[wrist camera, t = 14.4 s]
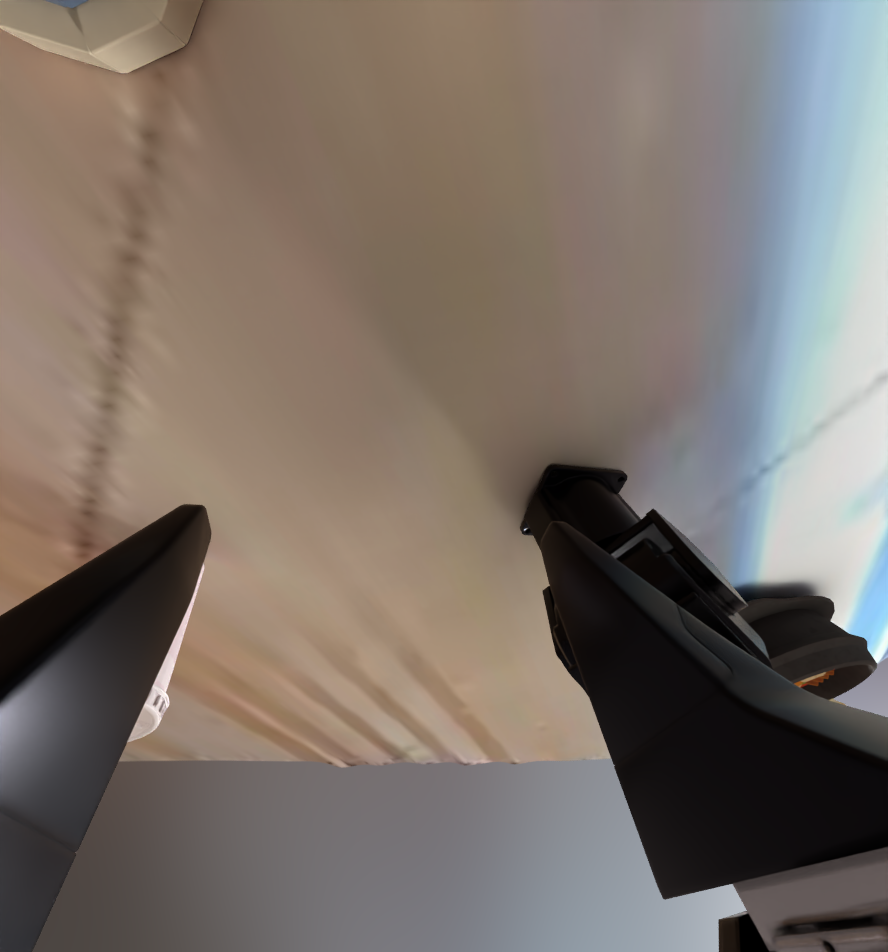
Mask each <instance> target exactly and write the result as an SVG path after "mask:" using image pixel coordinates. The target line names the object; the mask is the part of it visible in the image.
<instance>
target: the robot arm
mask: <svg viewBox="0 0 888 952" xmlns="http://www.w3.org/2000/svg"><path fill="white" fill-rule="evenodd" d="M553 471H555V472H554V473H552V472H553ZM626 480H627V475H626V474H625V473H624V472H623V471H617V470H606V469H596V468H585V467H575V466H564V465H551V466H549V467H548V468H547V469H546V471H545V473H544V475H543V478H542V480H541V482H540V484H539V487H538V489H537V491H536V492H535V494H534V496H533V498H532V501H531V503H530V505H529V507H528V509H527V512H526V514H525V516H524V520H523V522H522V524H521V527H520V530H521V532H522V534H524V535H533V536H534V538H535V540H536V542H537V544H538V546H539V548H540V550H541V552H542V556H543V560H544V564H545V568H546V572H547V576H548V580H549V584H550V586H548V587H547V588H546V589H544V590H543V595H544V600H545V605H546V610H547V615H548V620H549V625H550V629H551V634H552V639H553V643H554V647H555V652H556V654H557V656H558V657H559V659H560V660H561V661H562V663H563V665H564V666H565V668H566V669H567V671H568V672H569V673H570V675H571V676H572V677H573V678H574V679H575V680H576V681H577V682H578V683H579V684H580V685H581V687H582V688H583V689H584V691H585V692H586V693H587V695H588V696H589V698H590V701H591V703H592V706H593V709H594V712H595V714H596V717H597V720H598V723H599V725H600V728H601V731H602V734H603V737H604V739H605V742H606V745H607V748H608V750H609V753H610V756H611V759H612V761H613V764H614V765H615V766H614V767H615V770H616V773H617V776H618V778H619V781H620V784H621V787H622V789H623V792H624V795H625V798H626V800H627V803H628V806H629V809H630V811H631V814H632V817H633V819H634V822H635V825H636V828H637V831H638V833H639V836H640V839H641V842H642V845H643V847H644V850H645V853H646V856H647V858H648V861H649V864H650V867H651V869H652V872H653V875H654V878H655V880H656V883H657V886H658V888H659V890H660V893H661V895H662V897H663V899H669V898H673V897H678V896H682V895H686V894H690V893H695V892H699V891H703V890H707V889H712V888H716V887H720V886H724V885H729V884H733V885H734V887H735V889H736V891H737V893H738V895H739V897H740V898H741V900H742V902H743V904H744V906H745V908H746V910H747V911H744V912H741V913H738V914H735V915H732V916H729V917H726V918H723V919H719V952H888V717H885V716H881V715H878V714H874V713H871V712H867V711H864V710H860V709H856V708H853V707H849V706H846V705H842V704H839V703H836V702H832V701H829V700H827V699H824V698H821V697H819V696H816V695H814V694H812V693H810V692H808V691H806V690H804V689H802V688H800V687H798V686H797V685H795V684H793V683H792V682H790V681H789V680H787V679H786V678H784V677H783V676H781V675H780V674H778V673H776V672H775V671H773V668H772V665H771V662H770V659H769V656H768V652H767V649H766V646H765V644H764V642H763V640H762V639H761V637H760V636H759V635H758V634H757V633H756V632H755V631H754V630H753V629H752V628H751V627H750V626H749V625H748V624H747V622H746V621H745V620H744V619H743V618H742V617H741V616H740V615H739V614H738V613H737V612H739V611H741V610H743V609H744V608H746V607H748V604H747V603H746V602H745V601H744V599H743V598H742V597H741V596H740V595H739V594H738V592H737V591H736V590H735V589H734V588H733V586H732V585H731V584H730V583H729V582H728V580H727V579H726V578H725V577H724V576H723V575H722V573H721V572H720V571H719V570H718V569H717V567H716V566H715V565H714V564H713V563H712V562H711V561H710V560H709V559H708V558H707V557H706V556H705V555H704V554H703V553H702V552H701V551H700V550H699V549H698V548H697V547H696V546H695V545H694V544H693V543H692V542H691V541H690V540H689V539H688V538H687V537H686V536H685V535H683V534H682V533H681V532H680V531H679V530H678V529H676V528H675V527H674V526H673V525H672V524H671V523H670V522H668V521H667V520H666V519H665V518H664V517H663V516H662V515H660V514H659V513H658V512H657V511H656V510H655V509H652V510H651V511H649V512H648V513H647V514H646V515H647V516H645V517H644V518H643V519H640V517H639V516H638V515H637V514H636V513H635V512H634V511H633V510H632V508H631V507H630V506H629V505H628V504H627V503H626V502H625V501H624V499H623V498H622V497H621V496H620V495H619V494H618V493H619V492H620V490H621V488H622V487H623V485H624V484H625V482H626ZM527 528H528V529H527ZM210 540H211V528H210V523H209V519H208V515H207V510H206V508H205V507H204V506H203V505H192V504H184V505H181V506H179V507H178V508H176V509H174V510H173V511H171V512H170V513H168V514H166V515H165V516H163V517H161V518H160V519H158V520H156V521H155V522H153V523H152V524H150V525H148V526H147V527H145V528H143V529H142V530H140V531H138V532H137V533H135V534H134V535H132V536H130V537H129V538H127V539H125V540H124V541H122V542H120V543H119V544H117V545H116V546H114V547H112V548H111V549H109V550H107V551H106V552H104V553H102V554H101V555H99V556H98V557H96V558H94V559H93V560H91V561H89V562H88V563H86V564H84V565H83V566H81V567H80V568H78V569H76V570H75V571H73V572H71V573H70V574H68V575H66V576H65V577H63V578H62V579H60V580H58V581H57V582H55V583H53V584H52V585H50V586H48V587H47V588H45V589H44V590H42V591H40V592H39V593H37V594H35V595H34V596H32V597H30V598H29V599H27V600H26V601H24V602H22V603H21V604H19V605H17V606H16V607H14V608H12V609H11V610H9V611H8V612H6V613H4V614H3V615H1V616H0V952H32V951H33V949H34V947H35V944H36V942H37V940H38V938H39V936H40V933H41V931H42V929H43V927H44V925H45V922H46V920H47V918H48V916H49V914H50V911H51V909H52V907H53V905H54V903H55V900H56V898H57V896H58V894H59V892H60V889H61V887H62V885H63V883H64V881H65V878H66V876H67V874H68V872H69V870H70V867H71V865H72V863H73V861H74V859H75V856H76V853H75V852H76V851H77V850H78V849H79V847H80V845H81V842H82V840H83V838H84V836H85V834H86V832H87V829H88V827H89V825H90V823H91V820H92V818H93V816H94V814H95V811H96V809H97V807H98V805H99V803H100V801H101V798H102V796H103V794H104V792H105V790H106V788H107V785H108V783H109V781H110V779H111V777H112V774H113V772H114V770H115V768H116V766H117V763H118V761H119V759H120V757H121V755H122V752H123V750H124V748H125V746H126V744H127V741H128V739H129V737H130V735H131V733H132V730H133V728H134V726H135V724H136V722H137V719H138V717H139V715H140V713H141V711H142V708H143V706H144V704H145V702H146V700H147V697H148V695H149V693H150V691H151V689H152V686H153V684H154V682H155V680H156V678H157V675H158V673H159V671H160V669H161V667H162V664H163V662H164V660H165V658H166V656H167V653H168V651H169V649H170V647H171V645H172V642H173V640H174V638H175V636H176V634H177V631H178V629H179V627H180V625H181V623H182V620H183V618H184V616H185V614H186V612H187V609H188V607H189V605H190V602H191V600H192V597H193V594H194V591H195V588H196V585H197V582H198V578H199V575H200V572H201V569H202V566H203V562H204V559H205V556H206V553H207V550H208V546H209V543H210Z"/></svg>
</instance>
